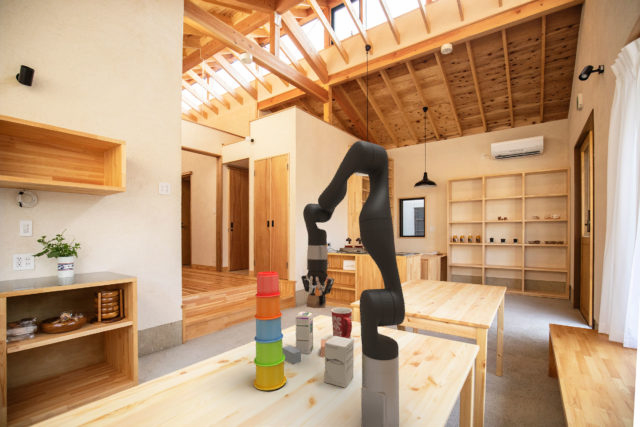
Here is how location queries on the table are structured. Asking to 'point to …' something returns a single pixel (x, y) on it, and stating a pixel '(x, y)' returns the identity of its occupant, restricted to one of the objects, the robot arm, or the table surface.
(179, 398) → the table surface
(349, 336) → the mug
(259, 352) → the stacking cups
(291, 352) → the slate-blue brick
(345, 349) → the supplement box
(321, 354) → the terracotta brick
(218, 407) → the table surface
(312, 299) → the walnut brick
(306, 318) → the syrup box
